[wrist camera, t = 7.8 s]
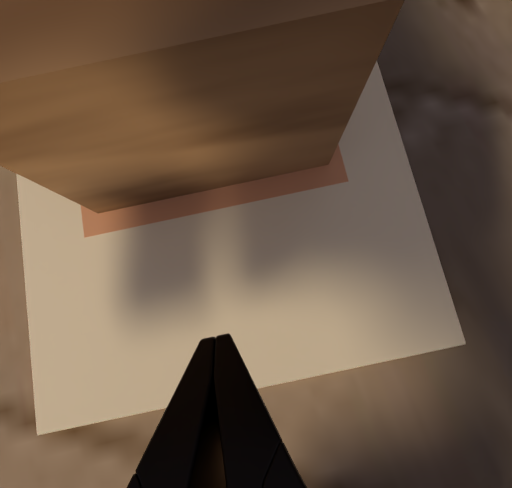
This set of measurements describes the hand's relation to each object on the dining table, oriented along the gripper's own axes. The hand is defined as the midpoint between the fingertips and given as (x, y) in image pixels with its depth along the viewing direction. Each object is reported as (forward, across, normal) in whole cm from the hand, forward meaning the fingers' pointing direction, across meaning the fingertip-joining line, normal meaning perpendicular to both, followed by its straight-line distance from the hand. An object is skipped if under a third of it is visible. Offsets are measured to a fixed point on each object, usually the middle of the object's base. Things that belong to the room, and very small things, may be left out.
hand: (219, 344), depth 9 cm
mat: (+11, 0, -3) cm, 12 cm away
